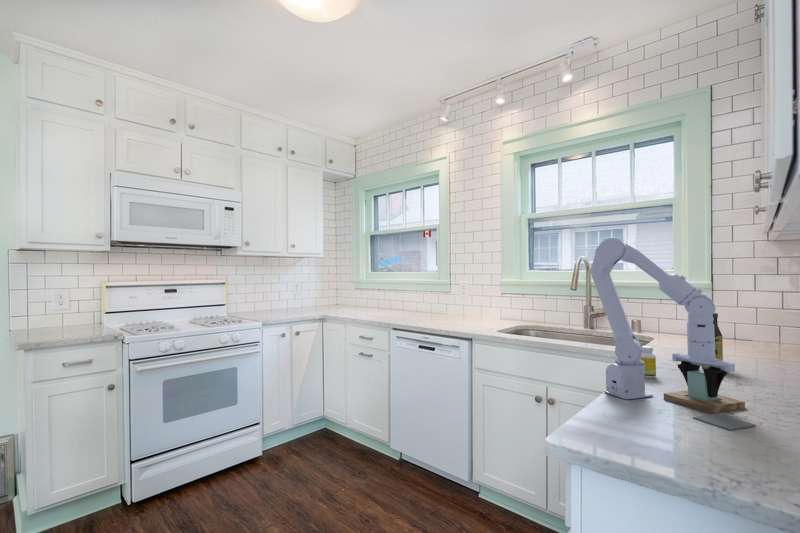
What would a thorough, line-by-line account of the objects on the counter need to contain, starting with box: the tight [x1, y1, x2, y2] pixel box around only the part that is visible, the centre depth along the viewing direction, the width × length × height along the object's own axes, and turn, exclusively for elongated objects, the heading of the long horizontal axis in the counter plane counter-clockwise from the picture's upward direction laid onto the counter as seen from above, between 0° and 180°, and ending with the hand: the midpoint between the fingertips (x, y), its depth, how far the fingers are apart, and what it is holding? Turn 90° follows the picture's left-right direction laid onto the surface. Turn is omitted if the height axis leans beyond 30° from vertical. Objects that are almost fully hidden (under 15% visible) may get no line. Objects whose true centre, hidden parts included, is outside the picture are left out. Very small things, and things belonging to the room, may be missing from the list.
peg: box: [687, 369, 719, 402], centre depth 104 cm, size 4×4×8 cm
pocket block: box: [663, 389, 746, 414], centre depth 104 cm, size 12×12×2 cm
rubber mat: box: [692, 412, 757, 431], centre depth 90 cm, size 8×8×1 cm
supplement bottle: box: [641, 345, 657, 379], centre depth 132 cm, size 5×5×10 cm
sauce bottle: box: [700, 312, 724, 370], centre depth 142 cm, size 7×6×20 cm
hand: (702, 394), depth 104 cm, fingers closed on peg, 4 cm apart
